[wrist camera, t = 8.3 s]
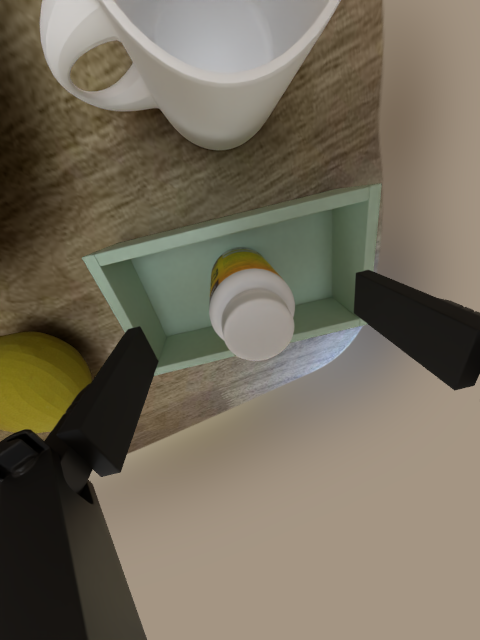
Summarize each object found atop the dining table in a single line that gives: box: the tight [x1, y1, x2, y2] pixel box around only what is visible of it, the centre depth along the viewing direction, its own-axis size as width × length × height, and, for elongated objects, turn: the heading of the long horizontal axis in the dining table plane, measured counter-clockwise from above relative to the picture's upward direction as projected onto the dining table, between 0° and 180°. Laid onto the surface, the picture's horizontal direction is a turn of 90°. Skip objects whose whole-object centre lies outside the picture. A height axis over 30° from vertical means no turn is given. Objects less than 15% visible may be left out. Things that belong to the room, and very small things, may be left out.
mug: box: [40, 0, 341, 150], centre depth 10 cm, size 9×12×11 cm
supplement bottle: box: [209, 247, 295, 361], centre depth 16 cm, size 6×6×10 cm
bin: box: [82, 183, 382, 376], centre depth 18 cm, size 20×11×6 cm, turn 102°
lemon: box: [0, 332, 92, 433], centre depth 20 cm, size 11×8×8 cm
